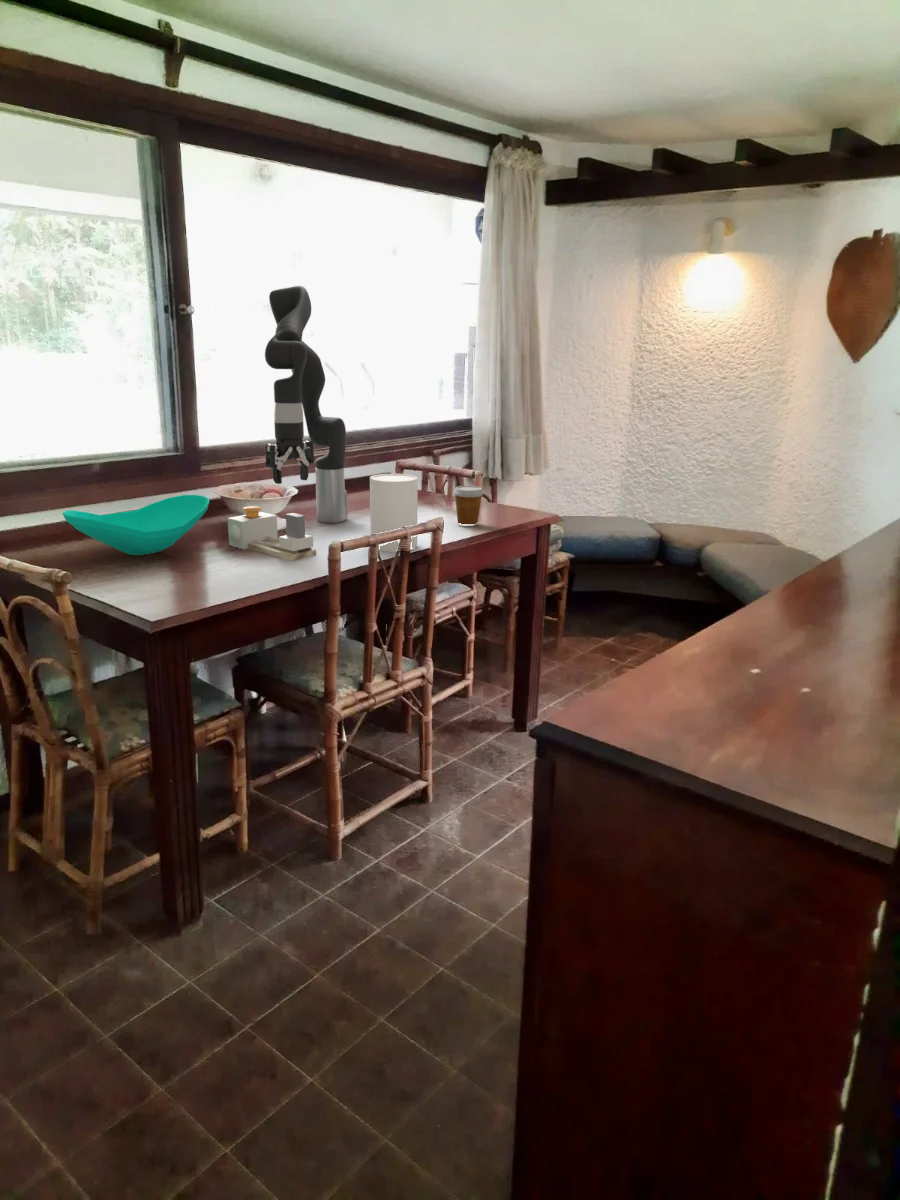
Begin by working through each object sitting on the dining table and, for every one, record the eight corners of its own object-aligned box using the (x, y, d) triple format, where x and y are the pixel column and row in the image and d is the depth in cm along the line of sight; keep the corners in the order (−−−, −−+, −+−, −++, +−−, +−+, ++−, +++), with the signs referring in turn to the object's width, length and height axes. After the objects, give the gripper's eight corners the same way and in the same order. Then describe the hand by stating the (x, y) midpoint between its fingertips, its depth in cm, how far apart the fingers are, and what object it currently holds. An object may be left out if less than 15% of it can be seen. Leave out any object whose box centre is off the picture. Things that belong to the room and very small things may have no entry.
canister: (373, 539, 249) (372, 473, 243) (418, 541, 248) (419, 474, 242) (367, 551, 236) (367, 480, 230) (415, 552, 236) (415, 482, 229)
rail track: (273, 543, 243) (273, 535, 242) (316, 554, 231) (316, 546, 230) (248, 548, 236) (247, 540, 236) (290, 560, 224) (290, 552, 224)
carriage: (299, 543, 233) (298, 511, 230) (313, 546, 229) (312, 514, 227) (279, 547, 228) (277, 515, 225) (293, 551, 224) (291, 518, 222)
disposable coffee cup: (448, 526, 268) (449, 489, 265) (459, 520, 277) (460, 484, 273) (476, 529, 265) (477, 491, 261) (486, 523, 273) (487, 487, 270)
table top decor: (184, 532, 253) (180, 489, 249) (233, 549, 235) (230, 503, 231) (50, 554, 226) (43, 506, 222) (94, 575, 208) (88, 523, 204)
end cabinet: (263, 538, 248) (261, 511, 246) (278, 542, 244) (276, 515, 241) (228, 545, 239) (226, 518, 237) (242, 549, 235) (240, 522, 232)
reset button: (254, 517, 243) (253, 505, 242) (264, 520, 240) (264, 508, 239) (240, 520, 239) (239, 508, 238) (250, 522, 236) (249, 510, 235)
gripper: (301, 417, 226) (303, 477, 231) (257, 420, 216) (260, 482, 221) (319, 419, 221) (320, 480, 226) (275, 423, 211) (277, 486, 216)
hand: (291, 481), depth 223 cm, fingers open, 8 cm apart
